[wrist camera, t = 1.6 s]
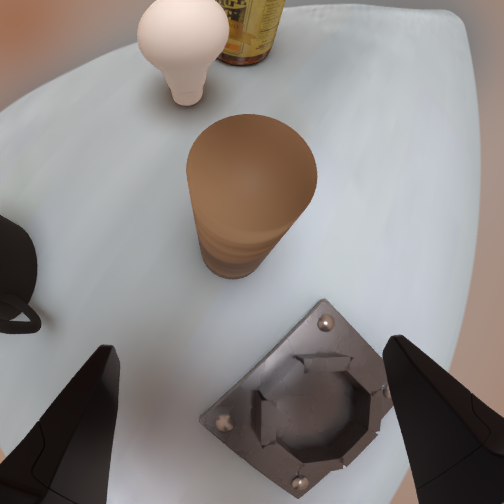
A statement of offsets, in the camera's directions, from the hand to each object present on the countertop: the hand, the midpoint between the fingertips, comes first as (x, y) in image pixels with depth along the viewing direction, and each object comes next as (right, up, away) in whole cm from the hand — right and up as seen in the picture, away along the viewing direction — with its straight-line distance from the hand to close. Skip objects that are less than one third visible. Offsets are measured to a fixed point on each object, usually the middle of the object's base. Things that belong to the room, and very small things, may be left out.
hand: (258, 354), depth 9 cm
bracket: (+4, -8, +11) cm, 14 cm away
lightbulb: (-6, +16, +15) cm, 23 cm away
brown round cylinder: (-2, +3, +13) cm, 14 cm away
